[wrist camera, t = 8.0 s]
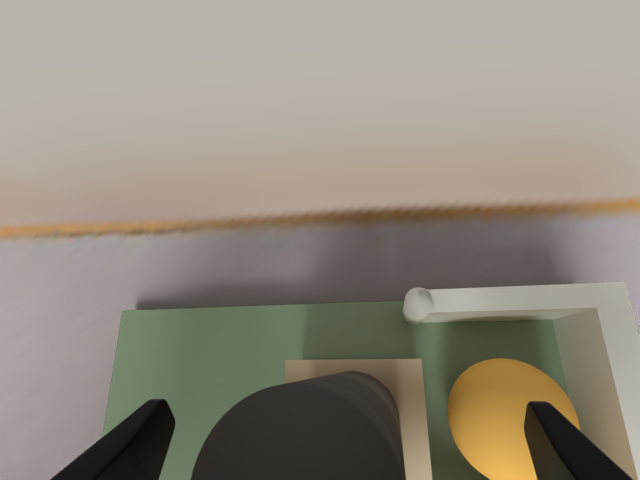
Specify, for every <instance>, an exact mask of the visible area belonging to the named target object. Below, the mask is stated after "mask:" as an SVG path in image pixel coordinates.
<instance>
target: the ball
mask: <svg viewBox="0 0 640 480" xmlns="http://www.w3.org/2000/svg"><path fill="white" fill-rule="evenodd" d="M529 401H546V402H549V403H550V404H552V405H553V406H554V407H555V408H556V409H557V410H558V411H559V412H560V413H561V414H562V415H564V416H565V417H566V418H567V419H568V420H569V421H570V422H571V423H572V424H573V425H574V426H576V427H577V428H578V429H579V430H580V425H579V420H578V417H577V414H576V412H575V409H574V407H573V405H572V403H571V401H570V399H569V398H568V396H567V395H566V394H565V392H564V391H563V390H562V388H561V387H560V386H559V385H558V384H557V383H556V382H555V381H554V380H553V379H552V378H551V377H549V376H548V375H547V374H545V373H544V372H542V371H541V370H539V369H537V368H536V367H534V366H532V365H529V364H527V363H525V362H521V361H518V360H513V359H505V358H495V359H489V360H484V361H481V362H479V363H476V364H474V365H472V366H471V367H469V368H468V369H467V370H465V371H464V372H463V373H462V374H461V375H460V376H459V377H458V379H457V380H456V382H455V383H454V385H453V387H452V390H451V392H450V395H449V400H448V408H447V413H448V422H449V427H450V430H451V434H452V436H453V439H454V441H455V443H456V445H457V447H458V448H459V450H460V451H461V453H462V454H463V456H464V457H465V458H466V459H467V461H468V462H469V463H470V464H471V465H472V466H473V467H474V468H475V469H476V470H477V471H479V472H480V473H481V474H483V475H484V476H485V477H487V478H488V479H490V480H538V479H537V476H536V472H535V469H534V465H533V462H532V458H531V455H530V451H529V448H528V444H527V441H526V437H525V433H524V420H525V414H526V407H527V403H528V402H529Z"/></svg>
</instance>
